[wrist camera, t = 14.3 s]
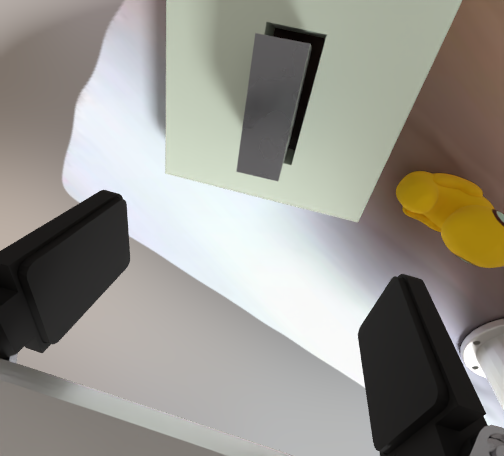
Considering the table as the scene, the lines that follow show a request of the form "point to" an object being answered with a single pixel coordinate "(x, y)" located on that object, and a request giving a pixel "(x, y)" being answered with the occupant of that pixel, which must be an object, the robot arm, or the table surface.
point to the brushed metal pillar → (271, 104)
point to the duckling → (455, 215)
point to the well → (320, 100)
